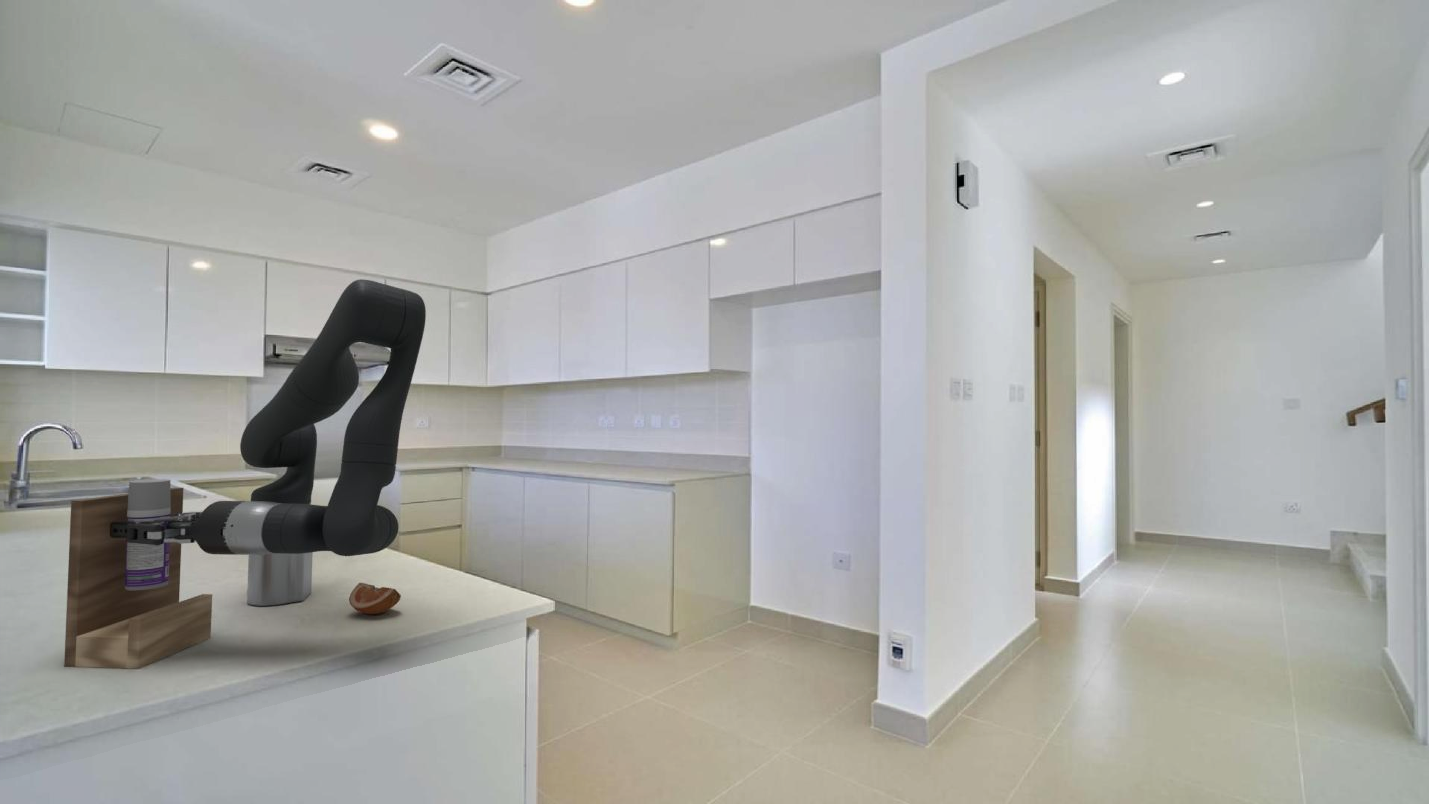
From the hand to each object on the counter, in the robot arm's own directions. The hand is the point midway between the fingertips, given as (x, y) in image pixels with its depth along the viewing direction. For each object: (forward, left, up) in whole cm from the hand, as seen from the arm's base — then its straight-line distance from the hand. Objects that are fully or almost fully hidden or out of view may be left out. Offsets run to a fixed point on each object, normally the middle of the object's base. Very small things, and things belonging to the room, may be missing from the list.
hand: (130, 526), depth 92 cm
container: (-3, +1, -9) cm, 9 cm away
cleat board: (-3, -1, -18) cm, 18 cm away
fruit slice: (-30, -9, -18) cm, 36 cm away
